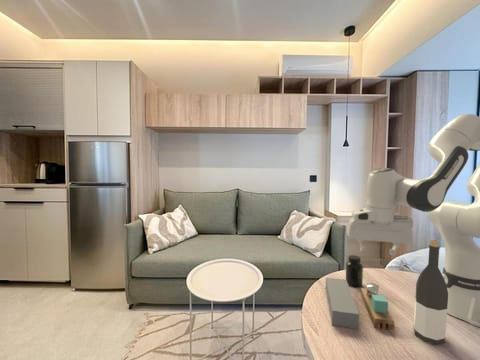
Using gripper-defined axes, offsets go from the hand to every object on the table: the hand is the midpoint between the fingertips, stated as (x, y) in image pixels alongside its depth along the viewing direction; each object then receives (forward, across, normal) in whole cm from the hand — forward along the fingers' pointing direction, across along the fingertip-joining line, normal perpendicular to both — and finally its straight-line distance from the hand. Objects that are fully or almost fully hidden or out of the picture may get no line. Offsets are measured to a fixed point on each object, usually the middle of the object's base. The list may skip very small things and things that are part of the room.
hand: (377, 253), depth 89 cm
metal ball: (+18, 0, -4) cm, 19 cm away
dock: (+22, +12, 0) cm, 24 cm away
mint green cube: (+18, 0, +4) cm, 19 cm away
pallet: (+22, 0, 0) cm, 22 cm away
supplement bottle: (+22, +3, -20) cm, 30 cm away
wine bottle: (+22, -13, +10) cm, 27 cm away
